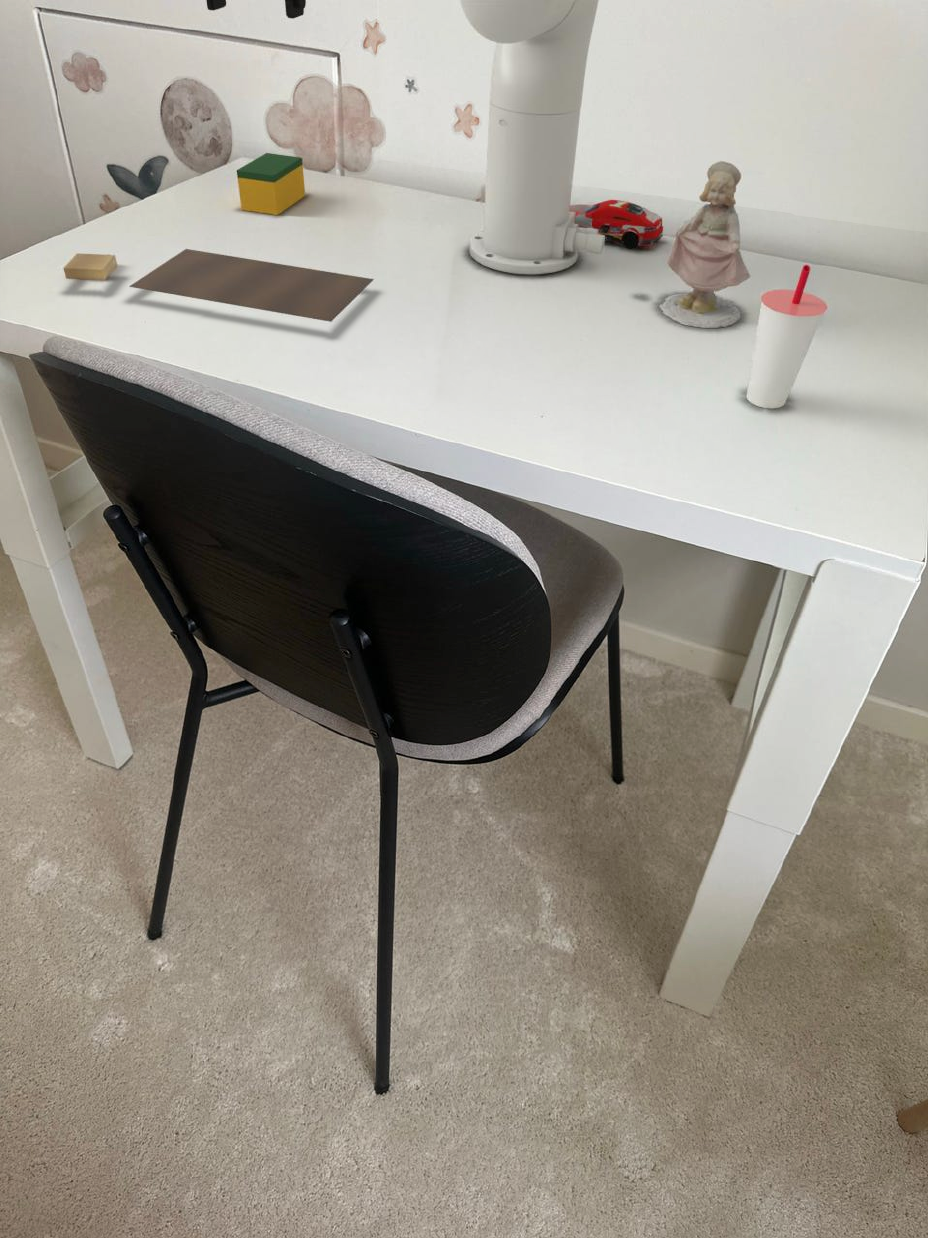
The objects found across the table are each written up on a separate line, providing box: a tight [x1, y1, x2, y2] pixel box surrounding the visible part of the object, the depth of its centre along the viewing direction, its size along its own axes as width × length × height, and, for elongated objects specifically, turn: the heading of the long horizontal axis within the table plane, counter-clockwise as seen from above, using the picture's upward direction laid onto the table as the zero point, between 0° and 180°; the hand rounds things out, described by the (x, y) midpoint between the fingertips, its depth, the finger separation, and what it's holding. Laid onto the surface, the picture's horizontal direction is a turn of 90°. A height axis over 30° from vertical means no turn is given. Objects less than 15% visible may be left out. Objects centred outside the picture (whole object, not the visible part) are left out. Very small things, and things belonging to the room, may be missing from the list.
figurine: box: [638, 160, 751, 329], centre depth 90 cm, size 11×10×15 cm
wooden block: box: [63, 252, 118, 281], centre depth 92 cm, size 4×4×2 cm
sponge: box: [236, 152, 306, 216], centre depth 112 cm, size 5×8×5 cm, turn 163°
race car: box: [569, 199, 664, 250], centre depth 107 cm, size 13×5×4 cm, turn 65°
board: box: [129, 248, 374, 322], centre depth 92 cm, size 22×11×2 cm, turn 73°
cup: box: [746, 264, 828, 409], centre depth 76 cm, size 5×5×12 cm
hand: (256, 12), depth 100 cm, fingers open, 9 cm apart
